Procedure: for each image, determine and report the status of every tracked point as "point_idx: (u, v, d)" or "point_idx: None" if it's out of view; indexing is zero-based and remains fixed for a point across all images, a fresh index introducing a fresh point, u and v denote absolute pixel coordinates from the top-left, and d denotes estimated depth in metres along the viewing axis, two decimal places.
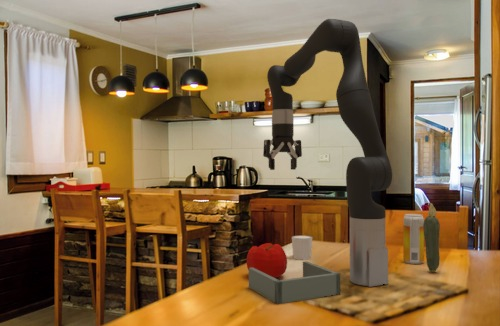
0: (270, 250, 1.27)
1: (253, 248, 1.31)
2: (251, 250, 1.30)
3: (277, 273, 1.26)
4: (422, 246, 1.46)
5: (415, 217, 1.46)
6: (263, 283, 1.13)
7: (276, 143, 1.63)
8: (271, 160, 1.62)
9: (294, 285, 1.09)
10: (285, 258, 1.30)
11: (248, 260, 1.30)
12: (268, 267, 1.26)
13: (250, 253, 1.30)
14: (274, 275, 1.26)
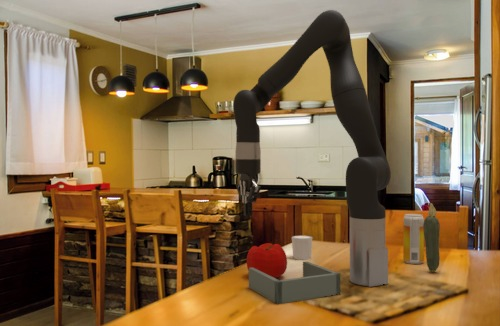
0: (270, 250, 1.27)
1: (253, 248, 1.31)
2: (251, 250, 1.30)
3: (277, 273, 1.26)
4: (422, 246, 1.46)
5: (415, 217, 1.46)
6: (263, 283, 1.13)
7: None
8: None
9: (294, 285, 1.09)
10: (285, 258, 1.30)
11: (248, 260, 1.30)
12: (268, 267, 1.26)
13: (250, 253, 1.30)
14: (274, 275, 1.26)
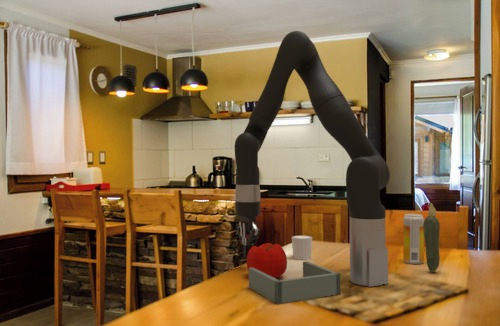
0: (270, 250, 1.27)
1: (253, 248, 1.31)
2: (251, 250, 1.30)
3: (277, 273, 1.26)
4: (422, 246, 1.46)
5: (415, 217, 1.46)
6: (263, 283, 1.13)
7: None
8: None
9: (294, 285, 1.09)
10: (285, 258, 1.30)
11: (248, 260, 1.30)
12: (268, 267, 1.26)
13: (250, 253, 1.30)
14: (274, 275, 1.26)
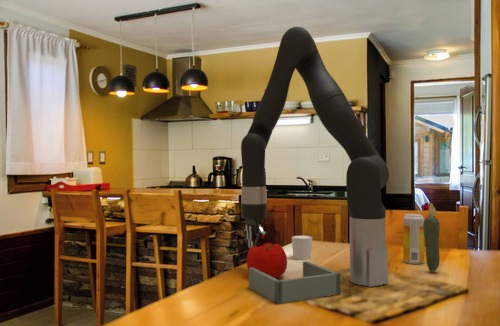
0: (270, 250, 1.27)
1: (253, 248, 1.31)
2: (251, 250, 1.30)
3: (277, 273, 1.26)
4: (422, 246, 1.46)
5: (415, 217, 1.46)
6: (263, 283, 1.13)
7: None
8: None
9: (294, 285, 1.09)
10: (285, 258, 1.30)
11: (248, 260, 1.30)
12: (268, 267, 1.26)
13: (250, 253, 1.30)
14: (274, 275, 1.26)
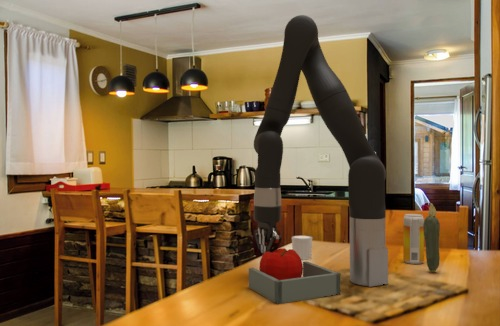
0: (285, 256, 1.19)
1: (266, 254, 1.23)
2: (264, 256, 1.22)
3: None
4: (422, 246, 1.46)
5: (415, 217, 1.46)
6: (263, 283, 1.13)
7: None
8: None
9: (294, 285, 1.09)
10: (301, 264, 1.22)
11: (261, 267, 1.22)
12: (284, 274, 1.18)
13: (263, 259, 1.22)
14: None
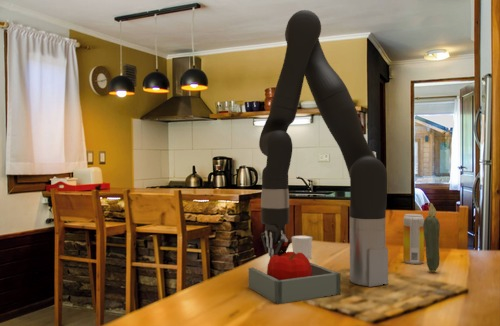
0: (294, 260, 1.15)
1: (274, 257, 1.18)
2: (272, 259, 1.18)
3: None
4: (422, 246, 1.46)
5: (415, 217, 1.46)
6: (263, 283, 1.13)
7: None
8: None
9: (294, 285, 1.09)
10: (310, 268, 1.18)
11: (269, 271, 1.18)
12: (292, 278, 1.13)
13: (271, 263, 1.17)
14: None
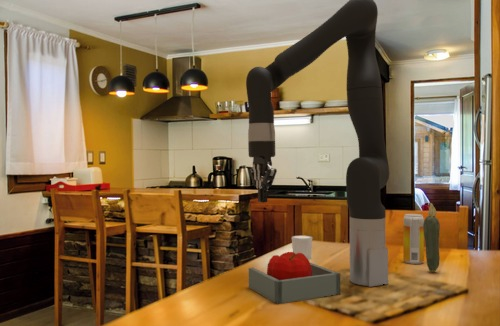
0: (294, 260, 1.15)
1: (274, 257, 1.18)
2: (272, 260, 1.18)
3: None
4: (422, 246, 1.46)
5: (415, 217, 1.46)
6: (263, 283, 1.13)
7: None
8: None
9: (294, 285, 1.09)
10: (310, 269, 1.18)
11: (269, 271, 1.17)
12: None
13: (271, 263, 1.17)
14: None
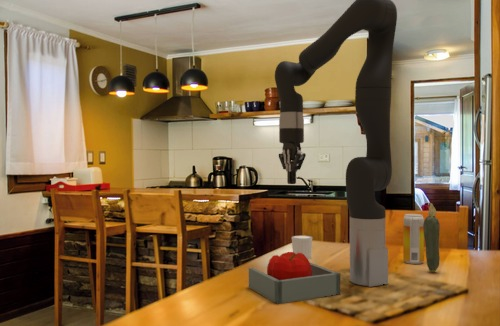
0: (294, 260, 1.15)
1: (274, 257, 1.18)
2: (272, 260, 1.18)
3: None
4: (422, 246, 1.46)
5: (415, 217, 1.46)
6: (263, 283, 1.13)
7: None
8: None
9: (294, 285, 1.09)
10: (310, 269, 1.18)
11: (269, 271, 1.17)
12: None
13: (271, 263, 1.17)
14: None
